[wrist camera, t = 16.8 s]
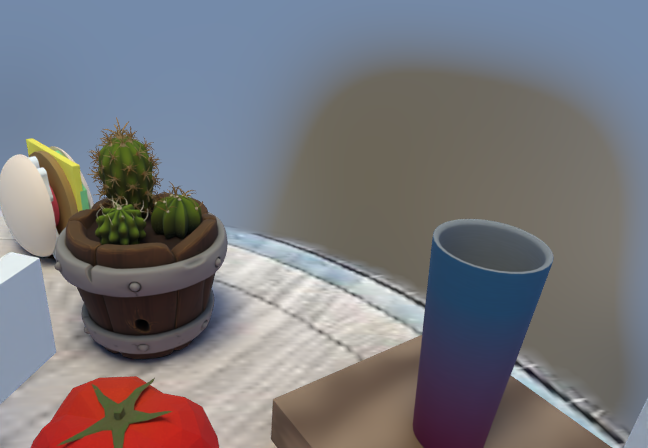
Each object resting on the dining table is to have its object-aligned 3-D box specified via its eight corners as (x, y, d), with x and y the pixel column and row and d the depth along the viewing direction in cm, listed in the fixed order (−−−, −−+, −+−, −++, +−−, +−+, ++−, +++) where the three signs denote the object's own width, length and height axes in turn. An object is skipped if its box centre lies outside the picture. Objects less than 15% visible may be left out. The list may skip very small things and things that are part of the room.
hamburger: (-4, 241, 65) (-24, 147, 59) (64, 222, 70) (51, 135, 65) (38, 279, 58) (19, 177, 53) (109, 255, 63) (99, 161, 58)
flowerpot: (256, 344, 50) (261, 143, 42) (85, 402, 42) (49, 166, 34) (198, 274, 61) (192, 102, 53) (53, 310, 53) (18, 113, 44)
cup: (435, 486, 33) (483, 282, 27) (382, 409, 38) (411, 225, 32) (519, 455, 36) (580, 262, 29) (457, 387, 41) (498, 213, 35)
